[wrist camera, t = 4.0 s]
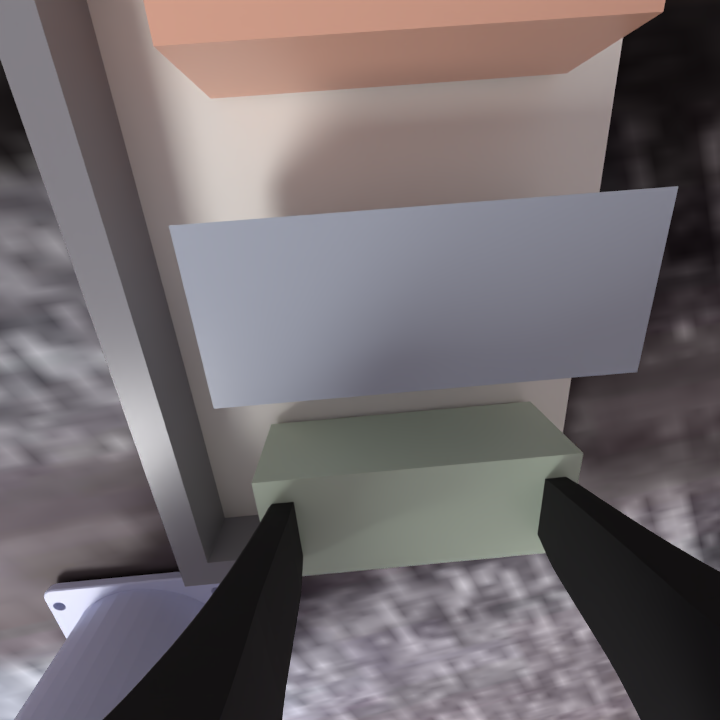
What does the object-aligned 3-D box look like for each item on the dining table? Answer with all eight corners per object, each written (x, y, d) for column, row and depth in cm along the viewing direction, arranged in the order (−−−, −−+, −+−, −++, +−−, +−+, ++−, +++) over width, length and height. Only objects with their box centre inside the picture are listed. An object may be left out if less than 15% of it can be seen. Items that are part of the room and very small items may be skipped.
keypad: (536, 486, 16) (585, 553, 13) (214, 516, 16) (182, 592, 13) (621, -166, 9) (778, -380, 6) (33, -132, 9) (-148, -337, 5)
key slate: (559, 331, 11) (636, 372, 8) (248, 357, 10) (213, 408, 8) (577, 195, 9) (678, 186, 7) (221, 223, 9) (168, 225, 6)
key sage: (521, 484, 14) (565, 550, 11) (286, 506, 14) (272, 579, 11) (530, 401, 13) (583, 453, 10) (271, 424, 13) (251, 483, 10)
